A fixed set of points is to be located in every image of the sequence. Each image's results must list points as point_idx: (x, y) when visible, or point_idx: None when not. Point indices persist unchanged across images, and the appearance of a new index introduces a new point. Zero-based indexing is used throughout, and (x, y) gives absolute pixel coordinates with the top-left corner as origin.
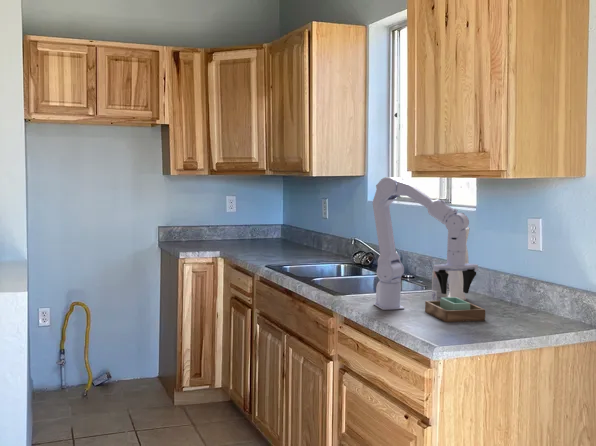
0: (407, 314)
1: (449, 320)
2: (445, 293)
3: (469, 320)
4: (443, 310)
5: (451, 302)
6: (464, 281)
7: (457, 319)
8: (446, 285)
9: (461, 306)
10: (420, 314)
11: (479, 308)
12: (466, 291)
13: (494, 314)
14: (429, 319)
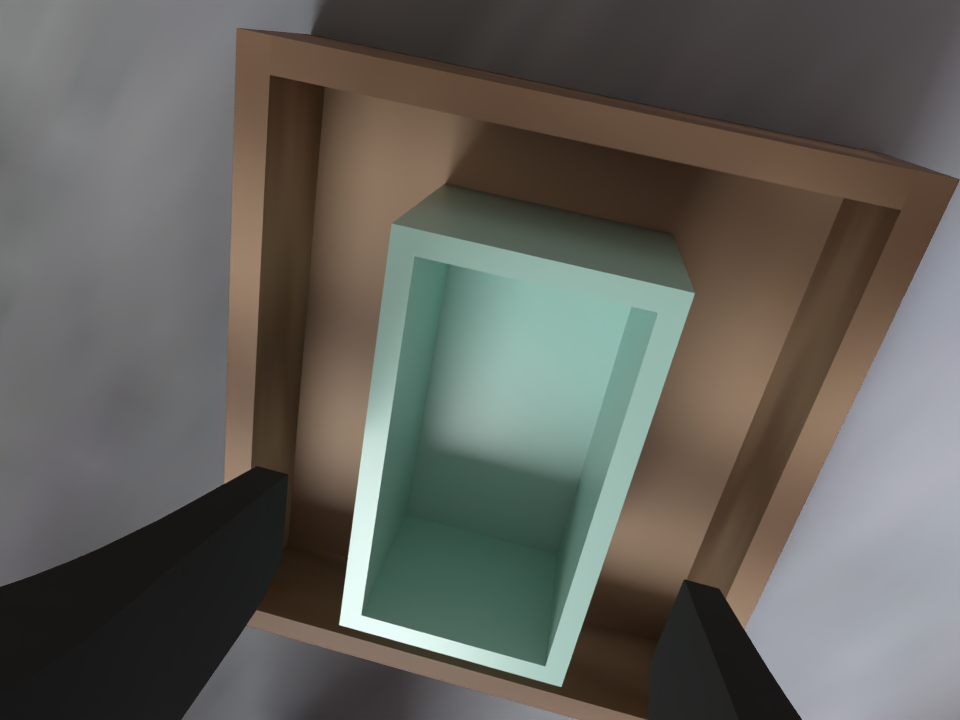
0: (954, 646)
1: (831, 143)
2: (697, 588)
3: (526, 80)
4: (915, 263)
5: (653, 396)
6: (161, 714)
7: (708, 118)
8: (738, 703)
9: (556, 247)
10: (818, 590)
11: (268, 167)
12: (272, 488)
13: (46, 267)
14: (937, 371)
